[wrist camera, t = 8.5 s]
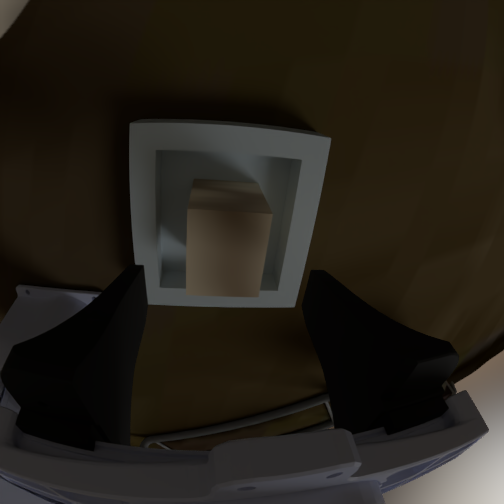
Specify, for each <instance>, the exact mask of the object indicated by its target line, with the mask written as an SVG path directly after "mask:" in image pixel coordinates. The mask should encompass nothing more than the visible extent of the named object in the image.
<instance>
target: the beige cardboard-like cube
mask: <svg viewBox="0 0 504 504" xmlns="http://www.w3.org/2000/svg"><path fill="white" fill-rule="evenodd" d="M272 216H273V213H272V211H271V209H270V207H269V205H268V203H267V201H266V199H265V197H264V194H263V192H262V190H261V188H260V186H259V184H258V183H251V182H239V181H225V180H210V179H194V180H193V185H192V189H191V194H190V199H189V204H188V209H187V241H186V295H196V296H222V297H259V292H260V286H261V280H262V275H263V269H264V263H265V257H266V252H267V246H268V240H269V234H270V228H271V222H272Z"/></svg>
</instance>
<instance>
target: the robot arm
mask: <svg viewBox="0 0 504 504" xmlns="http://www.w3.org/2000/svg"><path fill="white" fill-rule="evenodd" d="M16 291H17V294H18V297H17V299H16V300H15V302H14V303H13V305H12V306H11V308H10V309H9V311H8V312H7V314H6V316H5V317H4V319H3V320H2V322H1V324H0V504H385V501H384V499H383V496H382V494H383V493H385V492H388V491H390V490H393V489H395V488H397V487H400V486H402V485H404V484H406V483H408V482H410V481H412V480H415V479H417V478H419V477H421V476H423V475H425V474H427V473H429V472H431V471H433V470H435V469H436V468H438V467H440V466H442V465H444V464H446V463H447V462H449V461H451V460H453V459H455V458H456V457H458V456H459V455H460V454H462V453H463V452H464V451H466V450H467V449H468V448H469V447H471V446H472V445H473V444H474V443H476V442H477V441H478V440H479V439H480V438H482V437H483V436H484V435H485V434H486V433H487V432H488V431H489V429H488V427H487V425H486V423H485V422H484V420H483V418H482V416H481V415H480V413H479V411H478V409H477V407H476V406H475V404H474V403H473V401H472V400H471V397H470V396H469V394H468V392H467V391H466V390H464V391H462V392H459V393H457V394H454V395H452V396H450V397H448V398H447V399H446V400H444V398H443V397H442V395H443V394H444V393H445V390H444V389H443V387H442V385H443V383H444V382H445V381H446V380H447V378H448V377H449V376H450V375H451V373H452V372H453V371H454V369H455V368H456V366H457V363H458V360H459V355H458V354H457V352H456V351H455V349H454V348H453V346H452V345H451V344H450V342H448V341H444V340H441V339H437V338H434V337H431V336H428V335H425V334H423V333H420V332H417V331H415V330H413V329H410V328H408V327H406V326H404V325H402V324H400V323H398V322H396V321H394V320H392V319H390V318H389V317H387V316H385V315H384V314H382V313H380V312H379V311H377V310H376V309H374V308H373V307H371V306H370V305H368V304H367V303H366V302H364V301H363V300H362V299H360V298H359V297H358V296H356V295H355V294H354V293H352V292H351V291H350V290H349V289H347V288H346V287H345V286H344V285H342V284H341V283H340V282H339V281H337V280H336V279H335V278H334V277H332V276H331V275H330V274H329V273H327V272H326V271H324V270H311V272H310V276H309V280H308V284H307V288H306V291H305V295H304V299H303V302H302V310H303V315H304V319H305V323H306V326H307V329H308V332H309V334H310V337H311V339H312V342H313V345H314V347H315V350H316V352H317V355H318V358H319V360H320V363H321V366H322V369H323V372H324V376H325V380H326V384H327V389H328V393H329V398H330V403H331V409H332V415H333V422H334V429H324V430H318V431H312V432H305V433H298V434H290V435H281V436H271V437H259V438H246V439H239V440H231V441H227V442H225V443H222V444H219V445H216V446H215V447H214V448H213V449H212V450H211V451H185V450H166V449H153V448H142V447H134V446H130V412H131V395H132V383H133V374H134V368H135V363H136V358H137V354H138V350H139V346H140V342H141V338H142V334H143V330H144V327H145V322H146V315H147V307H148V299H147V290H146V281H145V271H144V265H131V264H130V265H129V266H128V267H127V268H126V269H125V270H124V271H123V272H122V273H121V274H120V275H119V276H118V277H117V278H116V279H115V280H114V281H113V282H112V283H111V284H110V285H109V286H108V287H107V288H106V289H105V290H104V291H103V292H93V291H80V290H69V289H58V288H47V287H38V286H28V285H18V286H17V287H16ZM94 297H96V298H94Z"/></svg>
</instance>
